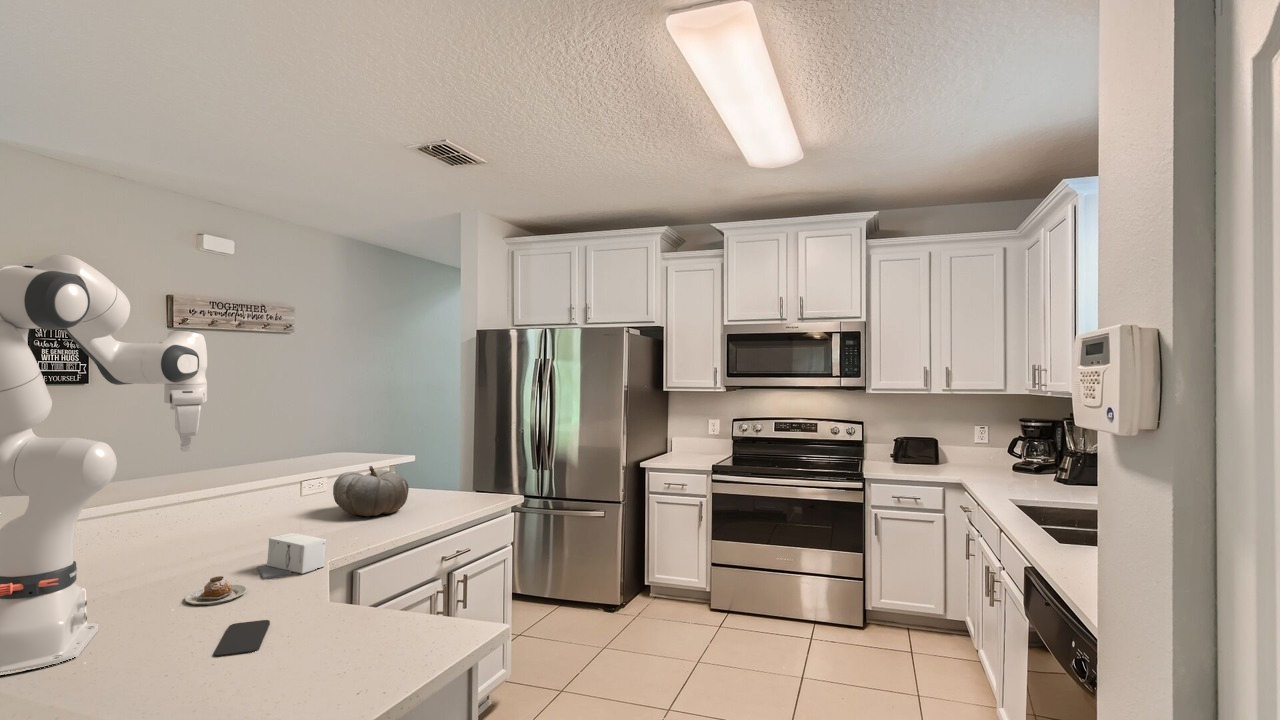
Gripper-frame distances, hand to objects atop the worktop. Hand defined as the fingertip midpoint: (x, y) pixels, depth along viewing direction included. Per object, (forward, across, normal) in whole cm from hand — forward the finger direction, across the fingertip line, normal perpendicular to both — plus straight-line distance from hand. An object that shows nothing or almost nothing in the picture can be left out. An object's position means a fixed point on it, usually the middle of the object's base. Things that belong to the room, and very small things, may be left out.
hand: (185, 450), depth 165 cm
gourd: (+32, -42, +57) cm, 77 cm away
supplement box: (+27, +4, +20) cm, 34 cm away
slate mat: (+31, +10, +18) cm, 37 cm away
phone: (+32, +51, +7) cm, 60 cm away
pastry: (+32, +22, +5) cm, 39 cm away
